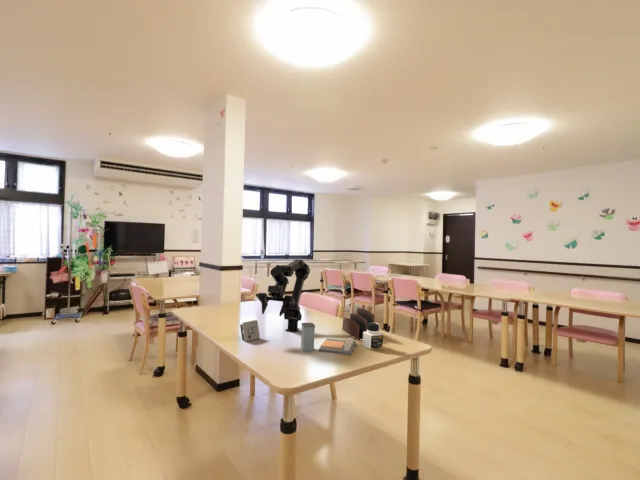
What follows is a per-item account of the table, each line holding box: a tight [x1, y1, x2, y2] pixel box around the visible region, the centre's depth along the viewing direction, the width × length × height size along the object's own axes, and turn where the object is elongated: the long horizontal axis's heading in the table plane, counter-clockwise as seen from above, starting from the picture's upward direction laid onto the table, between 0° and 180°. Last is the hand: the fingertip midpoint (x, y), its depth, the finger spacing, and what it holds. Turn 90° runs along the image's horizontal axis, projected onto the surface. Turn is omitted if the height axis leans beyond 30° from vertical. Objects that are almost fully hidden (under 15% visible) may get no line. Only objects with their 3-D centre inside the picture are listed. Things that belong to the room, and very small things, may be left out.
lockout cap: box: [300, 322, 316, 353], centre depth 155 cm, size 5×5×12 cm
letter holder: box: [341, 307, 375, 341], centre depth 184 cm, size 10×20×14 cm, turn 21°
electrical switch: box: [239, 319, 261, 342], centre depth 168 cm, size 9×5×9 cm, turn 141°
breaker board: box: [318, 336, 357, 356], centre depth 160 cm, size 18×15×4 cm
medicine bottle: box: [362, 321, 384, 351], centre depth 162 cm, size 7×7×12 cm
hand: (271, 314), depth 160 cm, fingers open, 9 cm apart
